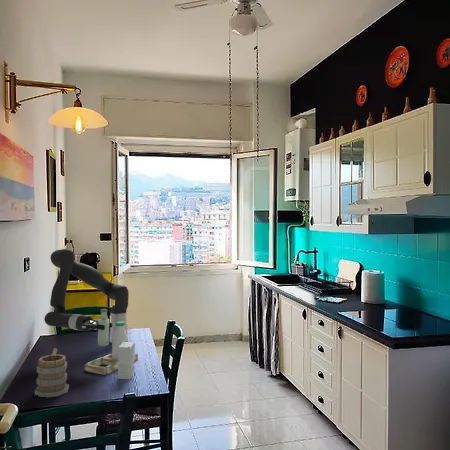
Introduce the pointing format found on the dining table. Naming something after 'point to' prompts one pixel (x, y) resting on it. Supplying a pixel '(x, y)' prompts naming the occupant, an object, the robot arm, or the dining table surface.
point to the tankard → (52, 375)
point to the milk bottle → (118, 338)
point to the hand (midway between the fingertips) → (108, 326)
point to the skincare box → (126, 360)
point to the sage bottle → (103, 334)
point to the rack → (106, 360)
